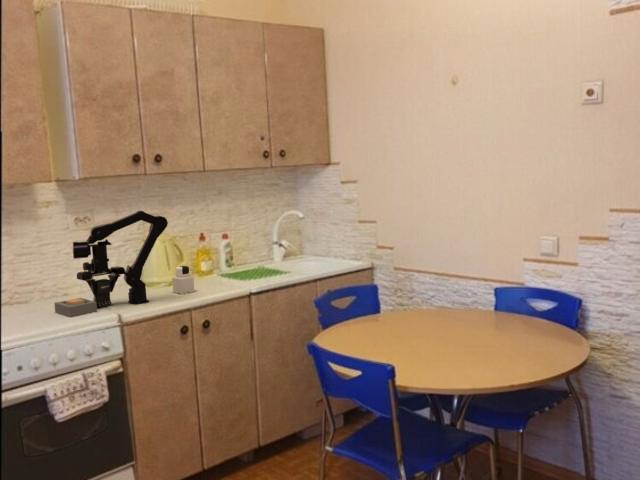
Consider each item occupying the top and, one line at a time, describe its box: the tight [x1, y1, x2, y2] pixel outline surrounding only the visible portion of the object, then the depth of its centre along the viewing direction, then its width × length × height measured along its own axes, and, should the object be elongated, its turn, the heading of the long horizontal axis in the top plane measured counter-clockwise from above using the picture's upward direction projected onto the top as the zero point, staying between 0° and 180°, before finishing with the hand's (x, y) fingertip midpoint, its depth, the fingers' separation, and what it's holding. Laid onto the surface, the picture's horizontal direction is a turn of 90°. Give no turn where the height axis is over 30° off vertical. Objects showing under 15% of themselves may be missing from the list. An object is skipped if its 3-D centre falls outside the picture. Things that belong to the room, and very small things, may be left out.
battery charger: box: [93, 278, 113, 309], centre depth 254 cm, size 7×4×11 cm, turn 143°
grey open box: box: [53, 297, 98, 318], centre depth 246 cm, size 11×14×4 cm
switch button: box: [65, 298, 85, 306], centre depth 246 cm, size 5×6×2 cm
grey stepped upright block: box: [171, 265, 195, 295], centre depth 279 cm, size 7×7×12 cm
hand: (102, 293), depth 254 cm, fingers closed on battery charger, 7 cm apart
